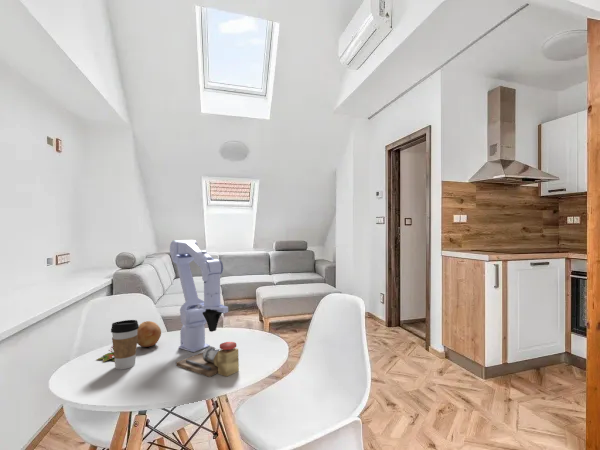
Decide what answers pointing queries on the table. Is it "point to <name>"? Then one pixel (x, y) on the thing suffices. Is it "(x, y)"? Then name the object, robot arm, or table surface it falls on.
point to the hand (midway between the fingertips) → (212, 330)
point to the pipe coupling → (210, 354)
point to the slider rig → (223, 362)
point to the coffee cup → (124, 343)
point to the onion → (148, 334)
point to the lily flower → (107, 356)
